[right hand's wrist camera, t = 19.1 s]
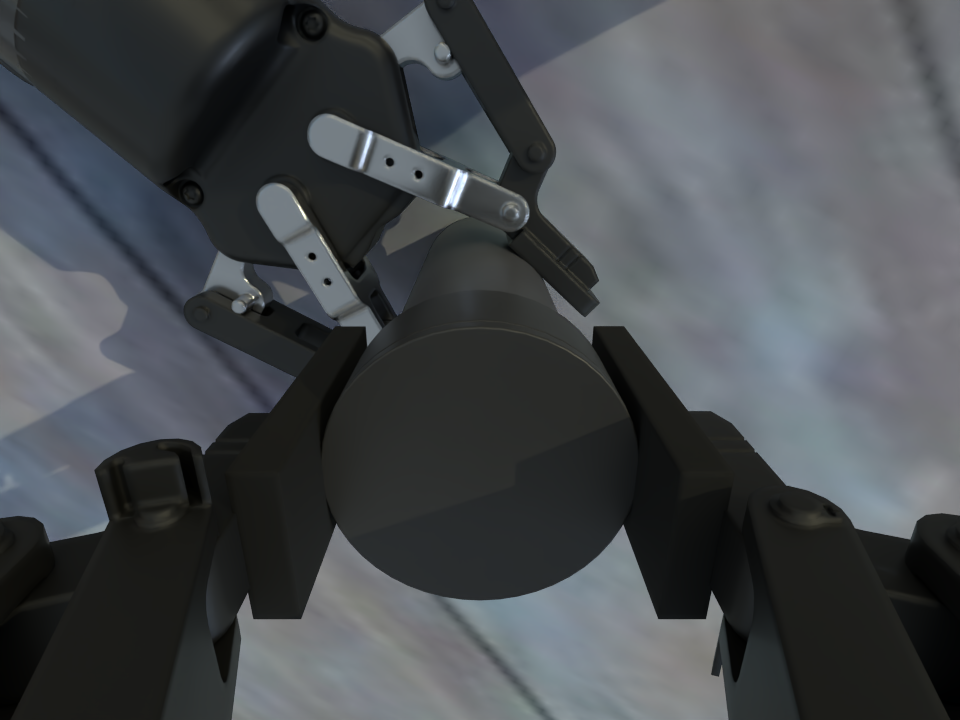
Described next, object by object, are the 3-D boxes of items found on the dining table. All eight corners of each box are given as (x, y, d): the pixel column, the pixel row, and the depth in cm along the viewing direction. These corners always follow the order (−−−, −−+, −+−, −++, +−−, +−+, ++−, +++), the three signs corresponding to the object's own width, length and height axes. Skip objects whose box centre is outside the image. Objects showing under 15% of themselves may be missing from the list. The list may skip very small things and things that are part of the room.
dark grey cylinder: (555, 261, 25) (659, 432, 11) (489, 342, 27) (501, 589, 12) (469, 193, 24) (453, 278, 10) (404, 281, 26) (305, 472, 11)
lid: (458, 562, 14) (454, 644, 12) (293, 395, 12) (251, 453, 10) (660, 437, 12) (700, 502, 10) (506, 230, 11) (513, 255, 9)
